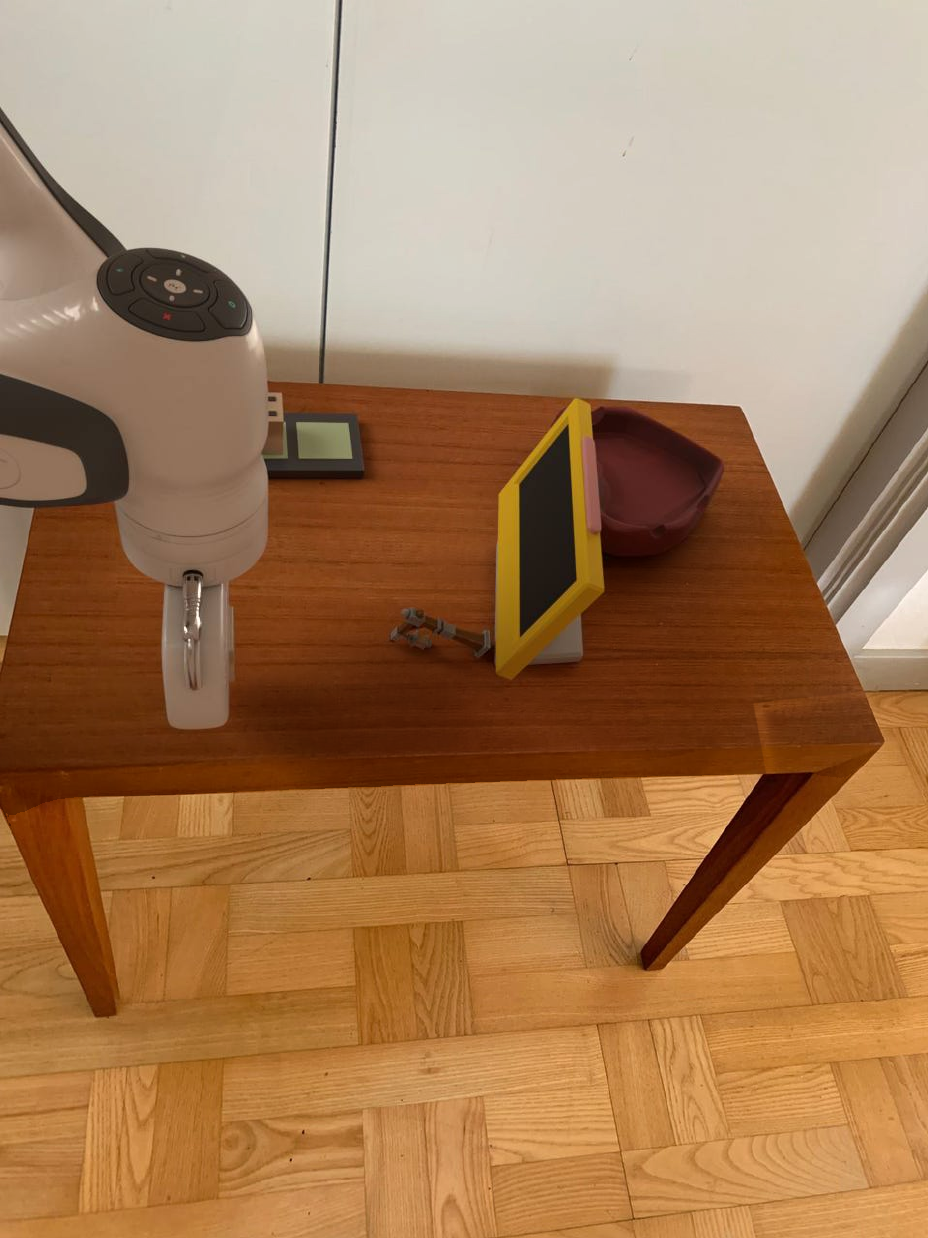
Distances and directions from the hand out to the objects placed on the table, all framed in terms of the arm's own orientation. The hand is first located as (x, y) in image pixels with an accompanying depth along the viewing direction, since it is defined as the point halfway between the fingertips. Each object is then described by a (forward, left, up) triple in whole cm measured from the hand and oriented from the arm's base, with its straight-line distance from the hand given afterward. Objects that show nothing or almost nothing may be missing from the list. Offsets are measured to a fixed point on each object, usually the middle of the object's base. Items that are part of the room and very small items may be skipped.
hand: (205, 647), depth 67 cm
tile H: (+5, +27, -4) cm, 27 cm away
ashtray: (+40, +20, -6) cm, 45 cm away
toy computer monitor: (+27, +7, -6) cm, 29 cm away
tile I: (0, 0, -2) cm, 2 cm away
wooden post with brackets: (+18, +3, -6) cm, 19 cm away
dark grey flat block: (+7, +27, -5) cm, 28 cm away
